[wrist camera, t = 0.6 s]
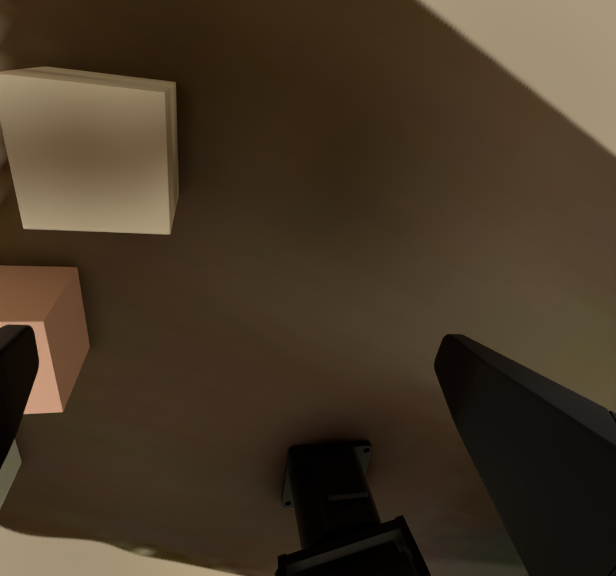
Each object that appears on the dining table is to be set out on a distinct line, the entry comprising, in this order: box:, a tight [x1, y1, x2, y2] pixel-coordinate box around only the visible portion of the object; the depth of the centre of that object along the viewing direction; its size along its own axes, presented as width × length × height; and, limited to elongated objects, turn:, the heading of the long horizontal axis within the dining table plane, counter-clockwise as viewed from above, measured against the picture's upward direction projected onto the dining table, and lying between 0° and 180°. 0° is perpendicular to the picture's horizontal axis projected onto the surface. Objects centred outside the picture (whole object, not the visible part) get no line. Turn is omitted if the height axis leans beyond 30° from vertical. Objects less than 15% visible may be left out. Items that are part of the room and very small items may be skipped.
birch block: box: [0, 66, 179, 234], centre depth 16 cm, size 5×5×5 cm
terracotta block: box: [0, 265, 90, 414], centre depth 20 cm, size 5×5×5 cm
